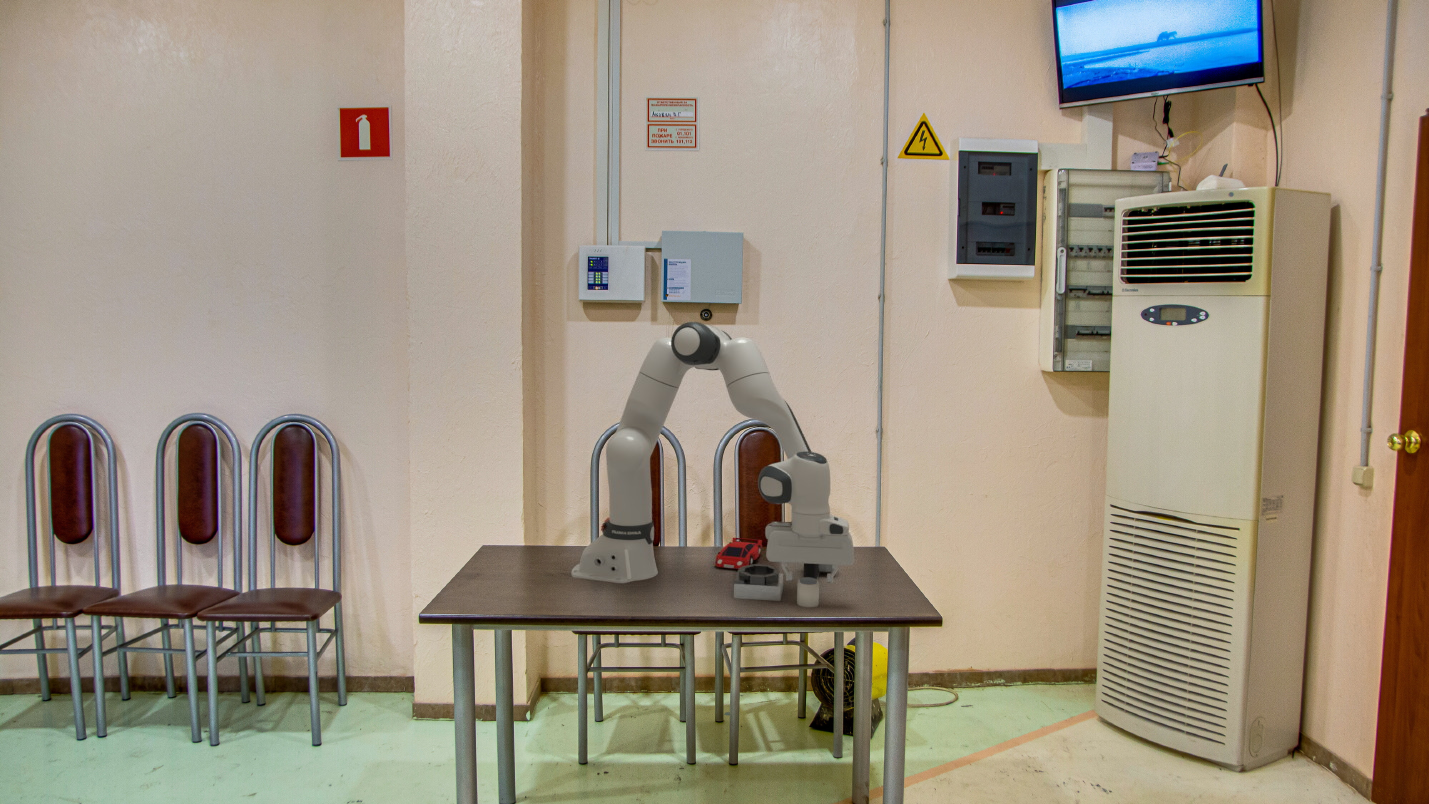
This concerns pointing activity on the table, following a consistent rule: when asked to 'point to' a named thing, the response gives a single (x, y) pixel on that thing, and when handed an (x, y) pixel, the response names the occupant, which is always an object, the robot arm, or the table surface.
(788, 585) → the table surface
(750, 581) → the grey ring holder
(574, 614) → the table surface
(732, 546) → the toy car
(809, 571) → the camera
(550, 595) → the table surface
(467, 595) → the table surface
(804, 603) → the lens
